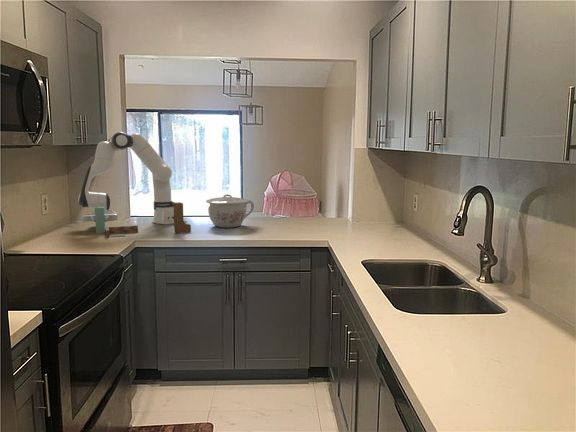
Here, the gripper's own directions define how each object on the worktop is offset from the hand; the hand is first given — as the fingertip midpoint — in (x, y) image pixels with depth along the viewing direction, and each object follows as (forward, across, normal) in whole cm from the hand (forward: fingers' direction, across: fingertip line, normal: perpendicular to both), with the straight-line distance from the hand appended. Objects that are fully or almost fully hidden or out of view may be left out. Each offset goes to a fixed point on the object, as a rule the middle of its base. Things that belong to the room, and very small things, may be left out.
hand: (99, 219), depth 286 cm
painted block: (-1, 0, +8) cm, 8 cm away
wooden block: (+14, +46, +8) cm, 49 cm away
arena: (+11, +12, +8) cm, 18 cm away
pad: (+12, +9, +8) cm, 17 cm away
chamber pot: (+3, +77, +8) cm, 78 cm away
